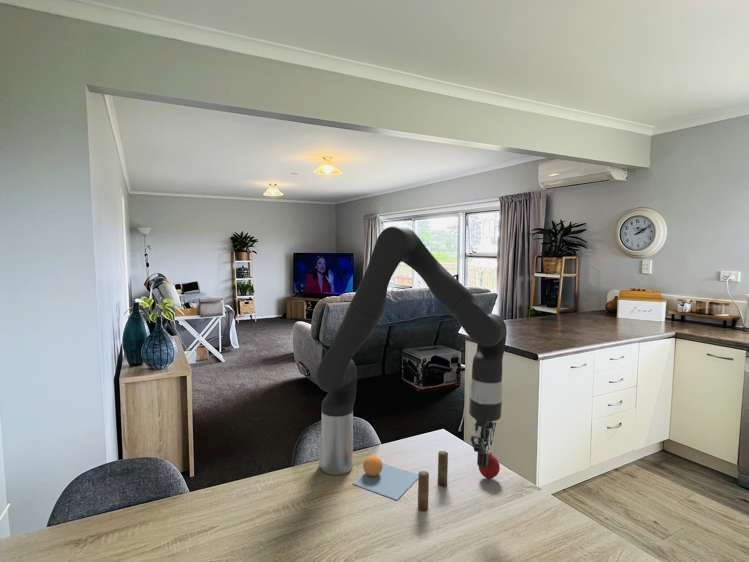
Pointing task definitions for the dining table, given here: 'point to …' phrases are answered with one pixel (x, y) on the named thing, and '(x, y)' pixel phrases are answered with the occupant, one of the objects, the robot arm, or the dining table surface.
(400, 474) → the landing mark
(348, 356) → the robot arm
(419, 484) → the post
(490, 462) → the onion
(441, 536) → the dining table surface
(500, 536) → the dining table surface
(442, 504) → the dining table surface
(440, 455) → the post
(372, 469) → the ball
